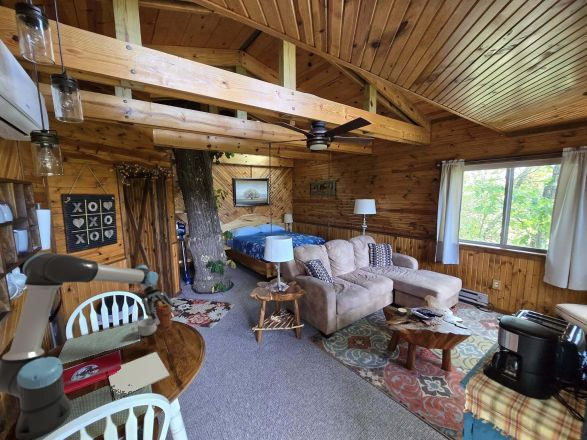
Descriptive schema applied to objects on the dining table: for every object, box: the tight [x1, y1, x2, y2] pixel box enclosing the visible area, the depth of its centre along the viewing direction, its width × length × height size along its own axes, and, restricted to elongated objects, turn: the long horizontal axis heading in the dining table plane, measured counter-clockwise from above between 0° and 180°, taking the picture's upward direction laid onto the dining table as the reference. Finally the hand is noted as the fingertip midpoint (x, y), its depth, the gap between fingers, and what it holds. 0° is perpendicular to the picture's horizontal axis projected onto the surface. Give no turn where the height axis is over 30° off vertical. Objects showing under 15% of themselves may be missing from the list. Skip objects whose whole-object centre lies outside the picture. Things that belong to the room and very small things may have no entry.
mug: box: [155, 301, 174, 333], centre depth 142 cm, size 15×8×15 cm, turn 49°
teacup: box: [131, 317, 158, 337], centre depth 153 cm, size 14×11×8 cm
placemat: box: [108, 351, 171, 402], centre depth 120 cm, size 22×24×1 cm
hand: (165, 320), depth 140 cm, fingers closed on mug, 8 cm apart
